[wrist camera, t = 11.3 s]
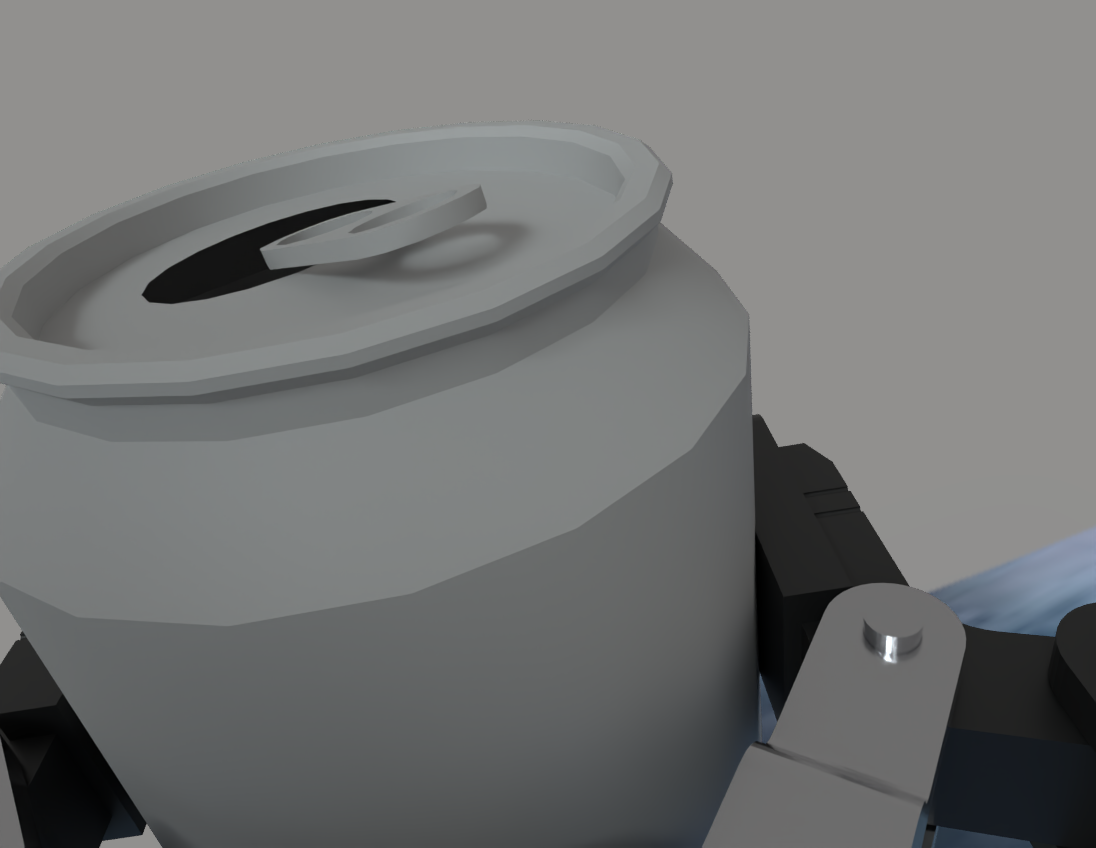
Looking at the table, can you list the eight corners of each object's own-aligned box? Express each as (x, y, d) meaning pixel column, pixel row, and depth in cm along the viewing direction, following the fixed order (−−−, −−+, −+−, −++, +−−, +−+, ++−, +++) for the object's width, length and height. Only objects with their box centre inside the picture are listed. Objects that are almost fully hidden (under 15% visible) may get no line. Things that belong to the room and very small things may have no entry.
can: (513, 670, 18) (371, 89, 12) (852, 858, 14) (898, 85, 8) (211, 973, 14) (-258, 289, 8) (569, 1400, 9) (128, 570, 3)
